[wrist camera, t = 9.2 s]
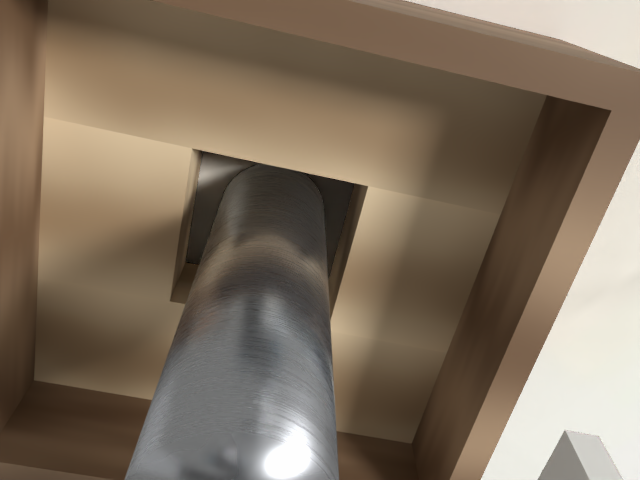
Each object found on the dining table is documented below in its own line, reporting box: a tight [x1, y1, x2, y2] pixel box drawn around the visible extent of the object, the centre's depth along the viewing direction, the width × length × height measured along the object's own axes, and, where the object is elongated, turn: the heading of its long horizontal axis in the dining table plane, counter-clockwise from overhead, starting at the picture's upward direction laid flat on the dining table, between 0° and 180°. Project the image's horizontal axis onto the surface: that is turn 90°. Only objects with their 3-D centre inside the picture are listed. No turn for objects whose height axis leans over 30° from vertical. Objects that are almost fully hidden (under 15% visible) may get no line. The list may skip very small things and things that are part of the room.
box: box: [0, 0, 640, 480], centre depth 20 cm, size 17×17×7 cm
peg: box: [124, 164, 339, 480], centre depth 17 cm, size 4×4×14 cm
